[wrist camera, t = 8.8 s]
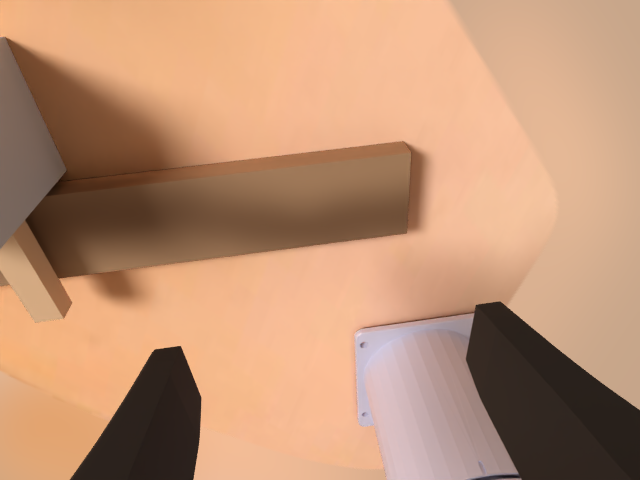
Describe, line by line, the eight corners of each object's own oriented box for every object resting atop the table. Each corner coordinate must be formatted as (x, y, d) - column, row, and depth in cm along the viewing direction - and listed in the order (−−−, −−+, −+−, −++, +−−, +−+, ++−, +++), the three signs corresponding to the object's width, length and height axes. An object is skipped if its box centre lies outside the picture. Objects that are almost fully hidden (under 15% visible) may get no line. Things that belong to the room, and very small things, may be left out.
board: (400, 219, 21) (407, 234, 20) (-72, 279, 19) (-90, 298, 18) (403, 141, 18) (411, 153, 17) (-132, 204, 17) (-157, 221, 16)
